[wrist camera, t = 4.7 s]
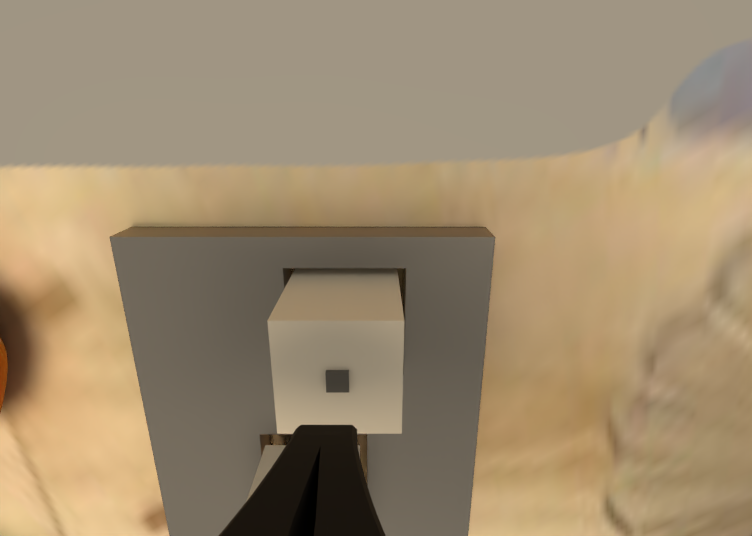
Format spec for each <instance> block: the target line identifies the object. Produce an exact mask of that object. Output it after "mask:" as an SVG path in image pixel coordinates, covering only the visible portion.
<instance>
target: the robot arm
mask: <svg viewBox="0 0 752 536" xmlns="http://www.w3.org/2000/svg"><path fill="white" fill-rule="evenodd" d="M219 536H386V535H385V533H384V531H383V528H382V526H381V523H380V521H379V518H378V515H377V513H376V510H375V507H374V505H373V502H372V499H371V496H370V493H369V489H368V486H367V483H366V480H365V477H364V473H363V469H362V465H361V461H360V456H359V451H358V444H357V429H356V428H355V427H354V426H353V425H300V426H299V427H297V428H296V430H295V431H294V433H293V435H292V437H291V438H290V440H289V441H288V443H287V445H286V446H285V448H284V449H283V451H282V453H281V454H280V456H279V457H278V459H277V460H276V462H275V463H274V464H273V466H272V467H271V469H270V470H269V472H268V473H267V474H266V476H265V477H264V479H263V480H262V481H261V483H260V484H259V485H258V487H257V488H256V490H255V491H254V492H253V494H252V495H251V496H250V498H249V499H248V500H247V501H246V503H245V504H244V505H243V506H242V508H241V509H240V510H239V511H238V513H237V514H236V515H235V516H234V518H233V519H232V520H231V521H230V522H229V524H228V525H227V526H226V527H225V529H224V530H223V531H222V532H221V533H220V534H219Z"/></svg>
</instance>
